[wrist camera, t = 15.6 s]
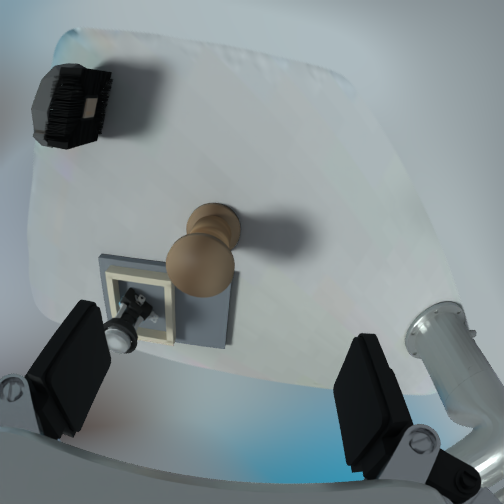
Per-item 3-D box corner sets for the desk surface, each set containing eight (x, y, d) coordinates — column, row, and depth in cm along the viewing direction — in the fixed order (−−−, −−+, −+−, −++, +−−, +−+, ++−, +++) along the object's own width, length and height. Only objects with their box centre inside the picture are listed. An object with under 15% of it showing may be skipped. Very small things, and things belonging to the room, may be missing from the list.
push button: (168, 307, 46) (149, 352, 37) (149, 325, 47) (130, 369, 38) (133, 279, 44) (107, 320, 35) (117, 299, 45) (91, 340, 36)
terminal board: (232, 270, 44) (230, 282, 41) (225, 344, 50) (223, 357, 47) (101, 253, 43) (92, 263, 40) (112, 325, 49) (105, 337, 47)
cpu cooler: (84, 65, 31) (39, 60, 22) (119, 68, 32) (78, 61, 23) (69, 137, 36) (25, 150, 27) (103, 143, 36) (61, 157, 27)
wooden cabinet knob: (243, 206, 40) (237, 241, 30) (237, 255, 43) (230, 301, 33) (189, 200, 40) (165, 232, 30) (187, 249, 43) (166, 293, 33)
